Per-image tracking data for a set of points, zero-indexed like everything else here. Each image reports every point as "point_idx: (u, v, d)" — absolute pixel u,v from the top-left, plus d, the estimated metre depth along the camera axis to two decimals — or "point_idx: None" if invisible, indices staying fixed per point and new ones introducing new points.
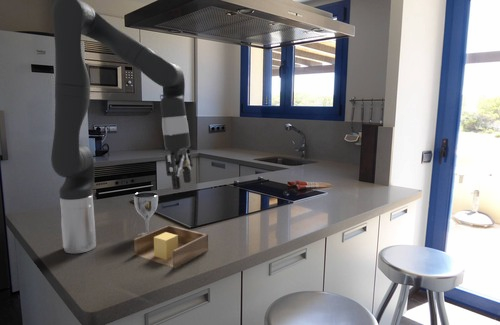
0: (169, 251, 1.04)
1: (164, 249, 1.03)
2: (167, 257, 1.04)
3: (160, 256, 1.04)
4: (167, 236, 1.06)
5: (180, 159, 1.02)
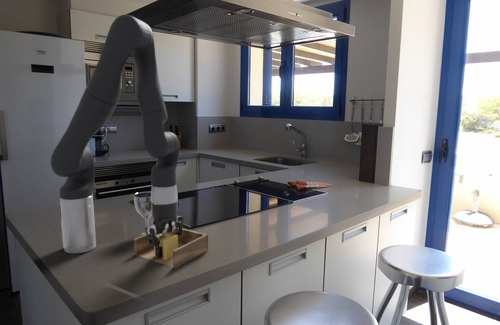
0: (169, 251, 1.04)
1: (164, 249, 1.03)
2: (167, 257, 1.04)
3: None
4: (167, 236, 1.06)
5: (163, 229, 1.03)
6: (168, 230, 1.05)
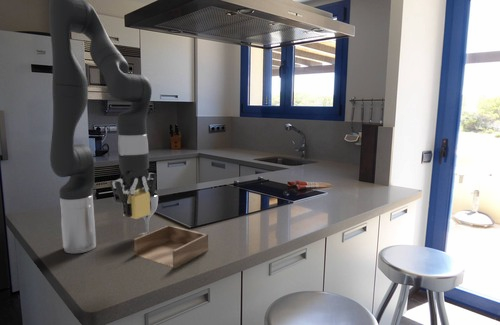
0: (139, 209, 0.93)
1: (133, 207, 0.92)
2: (137, 216, 0.92)
3: None
4: (137, 193, 0.94)
5: (132, 184, 0.91)
6: (138, 186, 0.94)
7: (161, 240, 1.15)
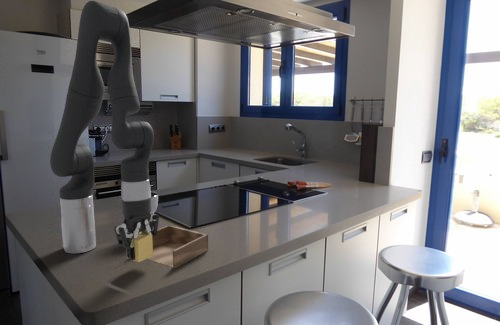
0: (142, 252, 0.95)
1: (136, 250, 0.94)
2: (140, 259, 0.94)
3: None
4: (140, 236, 0.96)
5: (135, 228, 0.93)
6: (141, 229, 0.96)
7: (161, 240, 1.15)
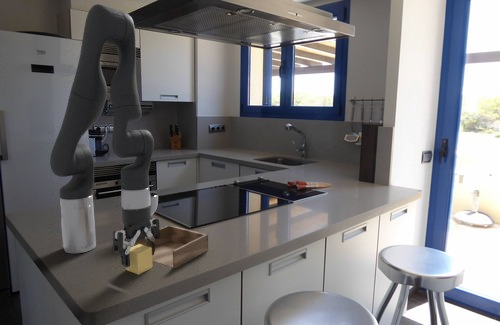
0: (142, 265, 0.95)
1: (136, 263, 0.94)
2: (139, 272, 0.95)
3: (132, 271, 0.96)
4: (140, 249, 0.97)
5: (133, 235, 0.93)
6: (140, 237, 0.96)
7: (161, 240, 1.15)
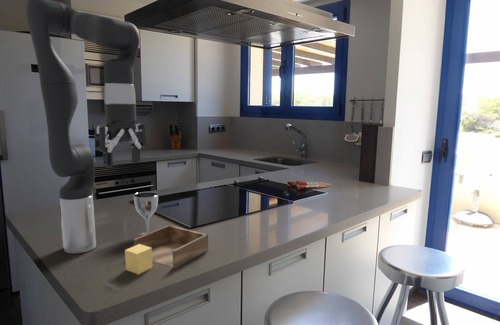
0: (142, 265, 0.95)
1: (136, 263, 0.94)
2: (139, 272, 0.95)
3: (132, 271, 0.96)
4: (140, 249, 0.97)
5: (117, 133, 0.88)
6: (124, 138, 0.91)
7: (161, 240, 1.15)
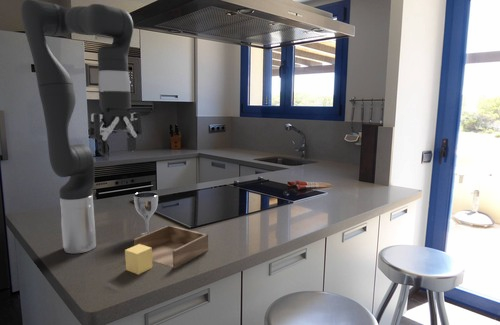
0: (142, 265, 0.95)
1: (136, 263, 0.94)
2: (139, 272, 0.95)
3: (132, 271, 0.96)
4: (140, 249, 0.97)
5: (111, 121, 0.88)
6: (119, 127, 0.90)
7: (161, 240, 1.15)
